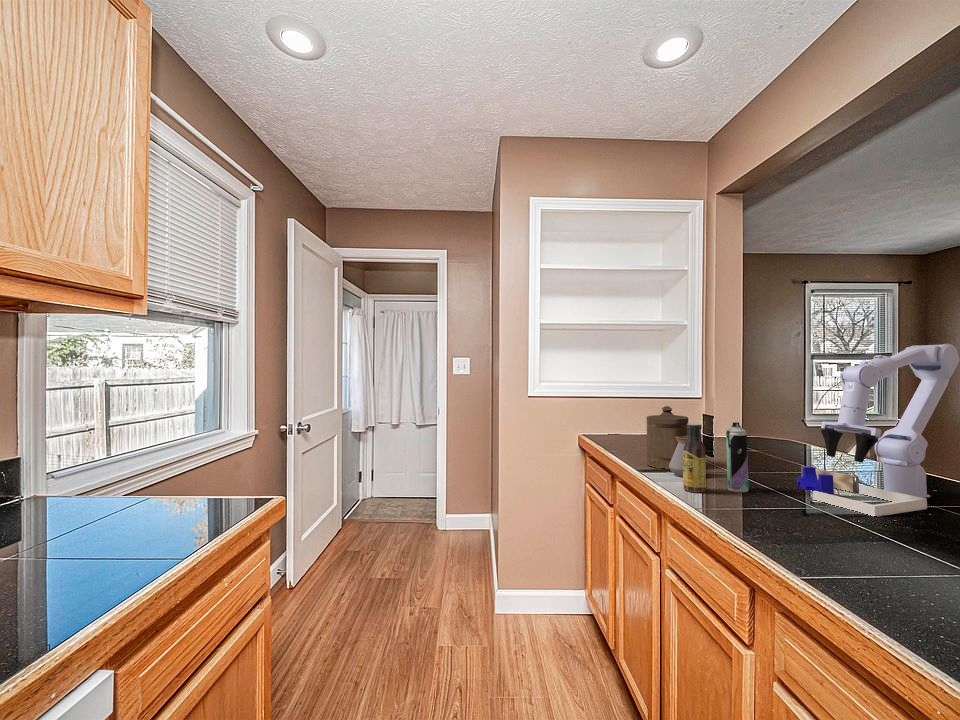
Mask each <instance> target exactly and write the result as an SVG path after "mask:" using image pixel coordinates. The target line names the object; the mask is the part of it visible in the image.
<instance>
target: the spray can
mask: <svg viewBox="0 0 960 720" xmlns="http://www.w3.org/2000/svg"><path fill="white" fill-rule="evenodd" d="M725 431H726V432H725V438H726V439H725V441H726V443H725V444H726V445H725V447H726V467H727V468H726V471H727V472H726V473H727V475H726V476H727V477H726V478H727V489H728V490H727V491H729V492H734V493H748V492H749V490H750V489H749V466H748V462H749V460H748V459H749V458H748V455H749V454H748V433H747V430H746V429H744V428H743V427H742V426H741V425H740V422H737V421H736V422H734V421H733V422H732V425H731V426H730V427H729V428H728V429H726V430H725Z"/></svg>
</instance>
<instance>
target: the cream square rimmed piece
mask: <svg viewBox="0 0 960 720" xmlns="http://www.w3.org/2000/svg"><path fill="white" fill-rule="evenodd" d="M853 476H854V489H855V492H854V494H856V493H859V494H858V495H860V494H864V495H868V496H867V497H869V496H872V497H871V498H873V497H877V498H880V499H879V500H882V499H884V500H883V501H886V500H888V501H887V502H884V503H875V504H872V503H867V502H864V501H863V502H862V501H858V500H854V499H851V498H847V497H842V496H837V495H835V494H834V495H831V494H827V493H822V492H818V491H812V501H813V500H817V501H821V502H825V503H828V504H831V505H830V506H832V505H835V506H834V507H836V506H839V507H838V508H840V507H843V508H847V509H850V510H849V511H851V510H854V511H853V512H855V511H858V512H857V513H859V512H861V513H860V514H862V513H864V514H863V515H866V514H868V515H867V516H870V515H871V517H874V516H877V517H883V515H884V516H890V515H895V514H901V513H909V512H914V511H915V512H916V511H923V510H927V509H928V501H927V500H928V499H927V498H921V497H916V496H911V495H906V494H902V493H897V492H892V491H887V490H884V488H883V489H882V488H877V487H873V486H867V485H862V484H860V481H859V480H860V479H859V475H853ZM859 484H860V485H859ZM864 495H863V496H864ZM877 498H876V499H877ZM817 501H816V502H817ZM890 501H892V502H890ZM821 502H820V503H821ZM828 504H827V505H828ZM843 508H842V509H843ZM847 509H846V510H847Z"/></svg>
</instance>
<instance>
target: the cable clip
mask: <svg viewBox="0 0 960 720" xmlns="http://www.w3.org/2000/svg"><path fill="white" fill-rule="evenodd" d="M801 467H802V466H801ZM816 469H817V468H816V467H813V466H804V467H802V473H801V476H796V486H797V487H798V486H800V487H801V488H800V487H799V488H800V489H802V490H803V489H804V491H805V490H812V491H811V492H813V491H818V492H822V493H827V494H831V495H835V494H834V491H835V490H834V489H835V488H834V487H833V475H830V474H819V478H818V479H817V475H816Z"/></svg>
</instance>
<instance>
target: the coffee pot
mask: <svg viewBox="0 0 960 720" xmlns="http://www.w3.org/2000/svg"><path fill="white" fill-rule="evenodd" d="M675 438H676V440H677V441H678V445H677V447H676V449H675V452H674V454H673V457H672V459H671V461H670V464H669V468H670V471H671V473H673V474H674V476H676V475H677V476H676V477H680V476H681V477H680V478H683V449H684V446H685V443H686V440H687V436H677V437H675Z"/></svg>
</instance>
